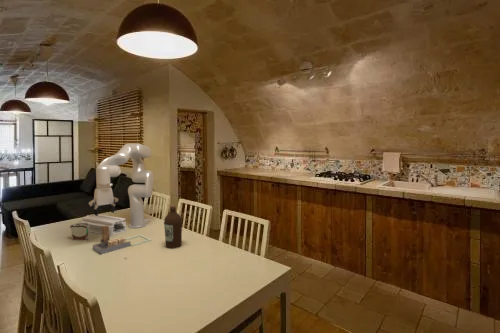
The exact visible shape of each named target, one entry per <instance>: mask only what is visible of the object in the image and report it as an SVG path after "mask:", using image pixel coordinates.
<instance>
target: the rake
mask: <svg viewBox="0 0 500 333" xmlns="http://www.w3.org/2000/svg"><path fill="white" fill-rule="evenodd" d="M101 236H102V238H101V239H100V243H102V242H106V241H110V240H111V238H110V236H109V226H108V225H105V226H102V235H101Z"/></svg>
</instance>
